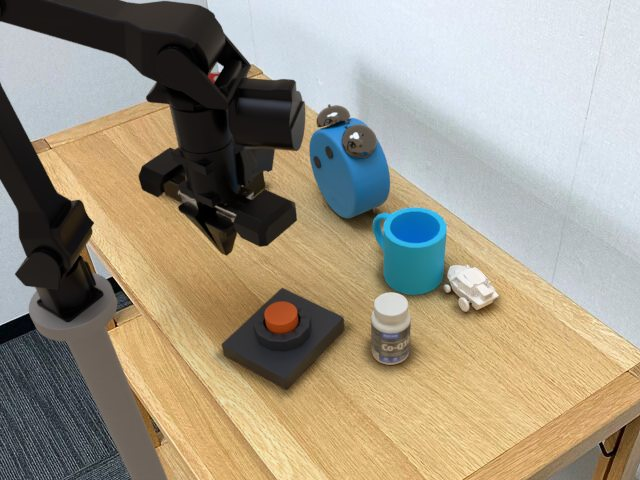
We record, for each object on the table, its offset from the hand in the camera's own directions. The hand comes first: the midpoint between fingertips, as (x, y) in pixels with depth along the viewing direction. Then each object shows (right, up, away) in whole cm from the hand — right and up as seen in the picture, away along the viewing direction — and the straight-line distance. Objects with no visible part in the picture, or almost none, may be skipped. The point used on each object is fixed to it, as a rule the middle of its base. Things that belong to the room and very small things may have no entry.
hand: (226, 252), depth 90 cm
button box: (+6, -11, +6) cm, 14 cm away
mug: (+22, 0, +15) cm, 26 cm away
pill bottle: (+20, -12, +4) cm, 23 cm away
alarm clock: (+15, +10, +24) cm, 30 cm away
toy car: (+30, -4, +10) cm, 32 cm away
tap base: (-6, +13, +28) cm, 31 cm away
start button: (+6, -8, +3) cm, 11 cm away
